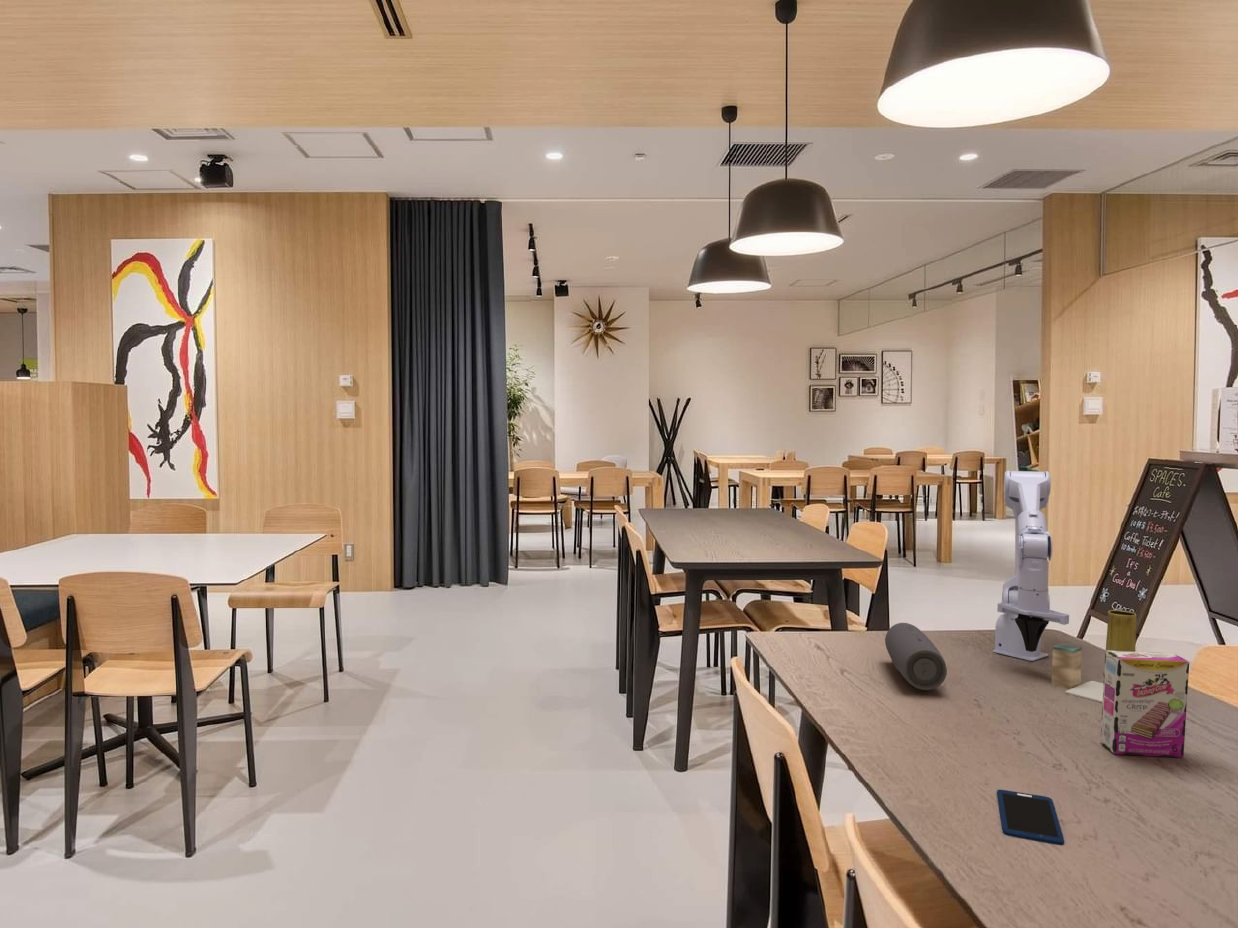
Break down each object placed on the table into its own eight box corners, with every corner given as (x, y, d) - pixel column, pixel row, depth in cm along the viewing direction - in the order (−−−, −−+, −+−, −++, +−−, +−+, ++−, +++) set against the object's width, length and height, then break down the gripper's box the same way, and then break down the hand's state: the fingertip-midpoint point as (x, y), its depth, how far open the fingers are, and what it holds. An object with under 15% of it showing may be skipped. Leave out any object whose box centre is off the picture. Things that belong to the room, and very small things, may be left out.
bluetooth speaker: (949, 697, 160) (951, 648, 159) (901, 695, 161) (902, 646, 161) (924, 664, 182) (925, 620, 182) (882, 662, 183) (883, 619, 183)
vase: (1142, 682, 170) (1145, 616, 169) (1113, 682, 170) (1116, 615, 169) (1125, 673, 176) (1127, 609, 175) (1097, 673, 176) (1099, 609, 175)
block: (1051, 683, 169) (1052, 646, 168) (1060, 679, 171) (1061, 643, 171) (1071, 688, 165) (1072, 650, 165) (1080, 684, 168) (1081, 647, 167)
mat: (1064, 692, 163) (1065, 691, 163) (1091, 681, 170) (1091, 680, 170) (1113, 705, 155) (1113, 703, 155) (1138, 693, 163) (1138, 691, 163)
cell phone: (1051, 801, 116) (1051, 796, 116) (1065, 848, 103) (1065, 842, 103) (996, 792, 119) (996, 787, 119) (1002, 837, 106) (1002, 831, 106)
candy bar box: (1114, 755, 132) (1118, 657, 131) (1099, 743, 137) (1102, 649, 136) (1186, 759, 131) (1191, 660, 130) (1168, 746, 136) (1172, 651, 135)
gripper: (990, 585, 177) (989, 645, 177) (1058, 596, 165) (1056, 661, 166) (1007, 581, 181) (1005, 640, 182) (1074, 592, 169) (1072, 655, 170)
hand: (1031, 650), depth 174 cm, fingers closed
